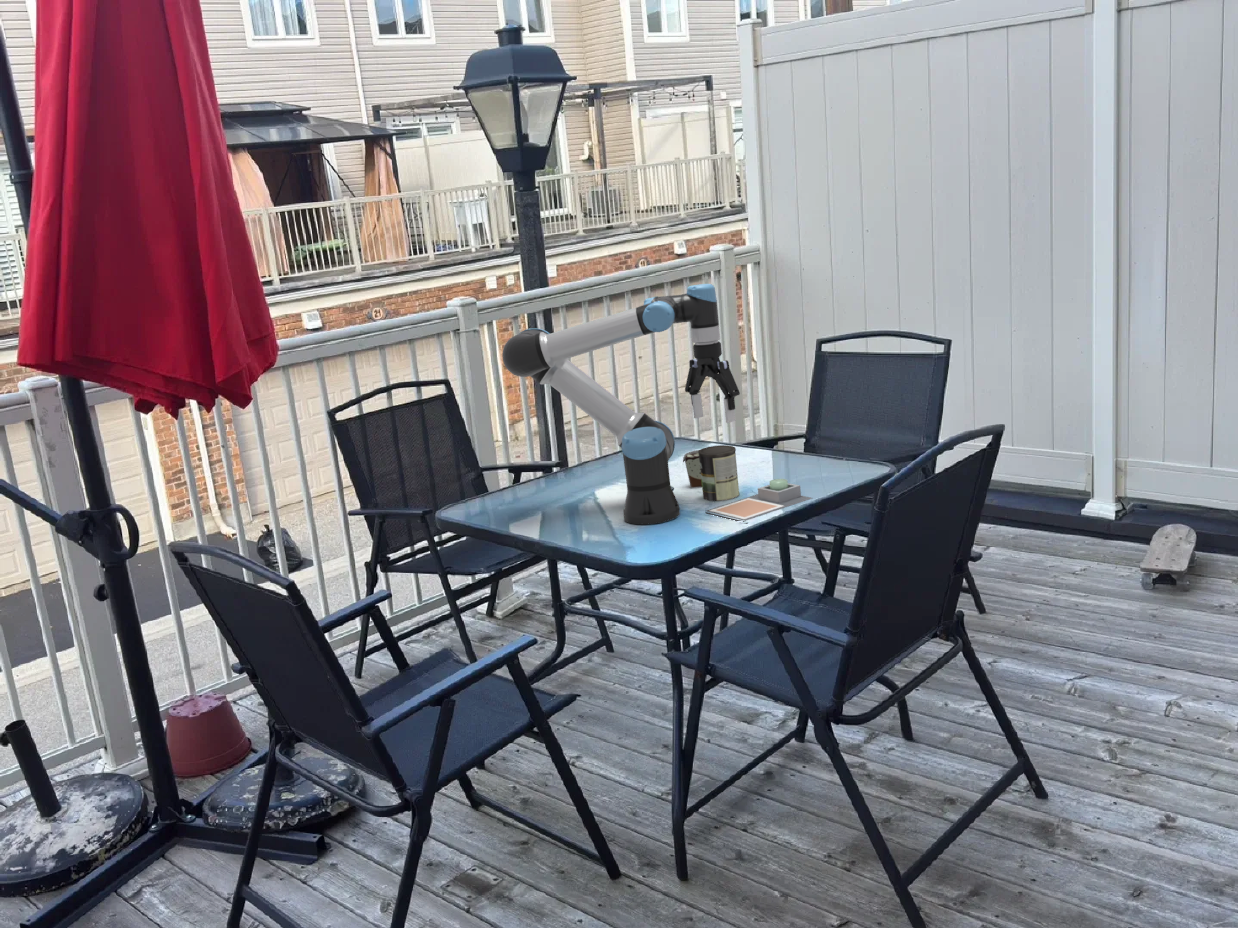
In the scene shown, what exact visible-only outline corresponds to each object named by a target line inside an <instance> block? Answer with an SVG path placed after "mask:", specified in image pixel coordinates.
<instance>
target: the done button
mask: <svg viewBox="0 0 1238 928" xmlns="http://www.w3.org/2000/svg"><path fill="white" fill-rule="evenodd" d="M788 481H789V480H788V479H786V478H777V479H771V480H769V485H770V490H775V491H780V490H784V489H787V488H788V483H789V482H788Z"/></svg>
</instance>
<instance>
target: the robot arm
mask: <svg viewBox="0 0 1238 928" xmlns="http://www.w3.org/2000/svg"><path fill="white" fill-rule="evenodd" d="M686 290H687V291H686V293H683V294H682V293H681V294H676V295H674V294H673V295H665V296H664V295H663V296H657V295H656V296H654V297H648V298H646V299H644V301H643V304H642V305H639V306H636V307H633V308H630V309H626V310H624V311H621V312H617V313H613V314H609V315H606V316H604V317H601V318H597V319H593V320H591V321H590V320H589V321H587V322H584V323H580V324H577V325H575V326H571V327H568V328H565V329H561V330H558V331H554V332H552V333H550V332H548V331H547V330H544V329H543V328H535V327H534V328H533V327H532V328H526V329H524V330H522V331H520V332H519V333H517V334H516V335H514V336H512V337H510V339H508V340H507V341H506V343H505V344H504V345H503V349H502V356H501V357H502V361H503V364H504V366H505V368H506V369H507V371H509V372H510V374H513V375H514V376H515V377H516V376H517V377H520V378H526V377H527V378H528V377H530V378H531V379H533V380H535V381H536V383H538V384H540V385H549V386H550V387H552V388H554V389H555V390H556V391H557V392H558V393H560V394H561V395H562V396H563V397H565V398H566V399H567V400H568V401H570V402H571V403H572V404H573V405H574V406H576V407H577V408H579V409H580V410H581V411H582V412H584V413H585V414H586V415H588V416H589V417H590V418H591V419H593V420H594V421H595V422H596V423H598V424H599V425H600V426H601V427H603V428H604V429H606V430H607V431H608V432H609V433H611V434H612V435H613V436H614V437H616V440H617V446H619V447H620V448H621V452H622V455H623V458H622V459H623V465H624V472H625V475H624V476H625V482H626V491H627V492H626V497H625V503H624V509H623V513H622V514H623V519H624V522H626V523H628V524H633V525H655V524H656V525H657V524H661V523H662V524H663V523H665V522H668V521H672V520H674V519H677V518H678V517H679V516H680V515H681V511H680V504H679V502H678V500H677V497H676V495H675V492H674V491H673V488H672V486H671V479H670V469H669V460H670V459H671V457H672V456H673V454H674V451H675V446H676V443H675V442H676V441H675V440H676V439H675V435H674V433H673V431H672V429H671V428H670V427H669V426H668V425H667V424H665V423H664V422H661V421H659V420H654V419H653V418H652V417H650V416H649V415H648V414H646V413H645V412H635V411H634V410H633V409H632V408H630V407H629V406H628V405H626V404H625V403H624V402H622V400H620V399H619V398H617V397H616V396H615V395H614V394H612V393H611V392H610V391H608V390H607V389H606V388H604V387H603V386H602V385H601V384H600V383H598V381H596V380H595V379H593V378H592V377H590V376H589V375H588V374H587V373H586V372H584V371H583V370H582V369H580V368H579V367H578V366H577V365H576V364H574V363H573V362H571V361H570V360H569V359H571V358H574V357H576V356H581V355H583V354H587V353H590V352H593V351H597V350H601V349H604V348H608V347H610V346H614V345H617V344H620V343H623V342H626V341H630V340H633V339H637V338H640V337H644V336H646V335H650V334H654V333H662V332H664V331H667V330H669V328H670V327H672V325H673V324H680V323H681V324H682V323H690V330H691V332H690V333H691V341H692V342H691V343H693V345H692V350H693V359H689V364H688V365H689V370H688V372H687V373H688V374H687V378H686V382H685V387H684V391H685V393H689V395H690V400H691V405H692V410H693V419H695V420H696V419H699V418H703V417H704V411H703V410H704V409H703V400H702V393H701V391H700V390H701V389H702V386H703V384H704V382H705V380H706V378H711V379H712V380H714V381H715V382H716V384H717V386H718V387H719V388H720V390H721V392H722V394H723V395H724V397H723V404H724V416H725V423H726V424H728V423H729V424H730V423H733V422H736V412H735V410H736V403H735V399H736V398H735V397H737V396H740V394H741V393H740V391H739V387H738V385H737V383H736V381H735V378H734V375H733V373H732V371H731V369H730V368H731V367H730V363H729V360H723V361H721V360H720V358H721V356H722V355H723V352H722V351H723V350H722V342H720V340H721V334H720V323H719V308H718V300H717V294H716V288H715V286H714V285H713V284H712V283H700V284H694V285H693V284H692V285H690V286H688V287H687V289H686Z"/></svg>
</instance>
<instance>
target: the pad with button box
mask: <svg viewBox="0 0 1238 928" xmlns="http://www.w3.org/2000/svg"><path fill="white" fill-rule="evenodd" d="M801 493H802V491H801V485H799V484H793V483H789V482H788V488H787V489H784V490H780V491H775V490H770V484H767V485H764V486H761V487H758V488H757V494H754V495H751V496H747V497H744V498H740V499H738V500H734V501H731V502H728V503H726V504H723V505H720V506H716V507H714V508H711V509H709V508H708V509H707V510H705V514H706V515H709V516H713V515H714V516H713V517H717V516H718V518H721V517H722V518H721V519H725V518H726V519H725V520H729V519H731V520H730V521H733V520H735V521H734V522H737V521H743V522H747V521H749V520H752V519H755V518H758V517H761V516H764V515H768V514H770V513H773V512H777V511H779V510H782V509H785V508H788V507H791V506H793V505H794V506H795V505H796V504H800V503H802V502H807V501H808V500H812V499H813V497H809V496H804V495H802V494H801Z"/></svg>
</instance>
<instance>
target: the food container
mask: <svg viewBox="0 0 1238 928" xmlns="http://www.w3.org/2000/svg"><path fill="white" fill-rule="evenodd" d="M699 450H700V449H697V450H692V451H689V452H686V453H684V455H683V457H682V458H683V459H682V462H683V463H685V468H686V473H687V476H688V482H689V486H690V487H689V488H690V489H699V488H700V489H701V488H702V480H701V470H700V461H699V454H698V451H699Z"/></svg>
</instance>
